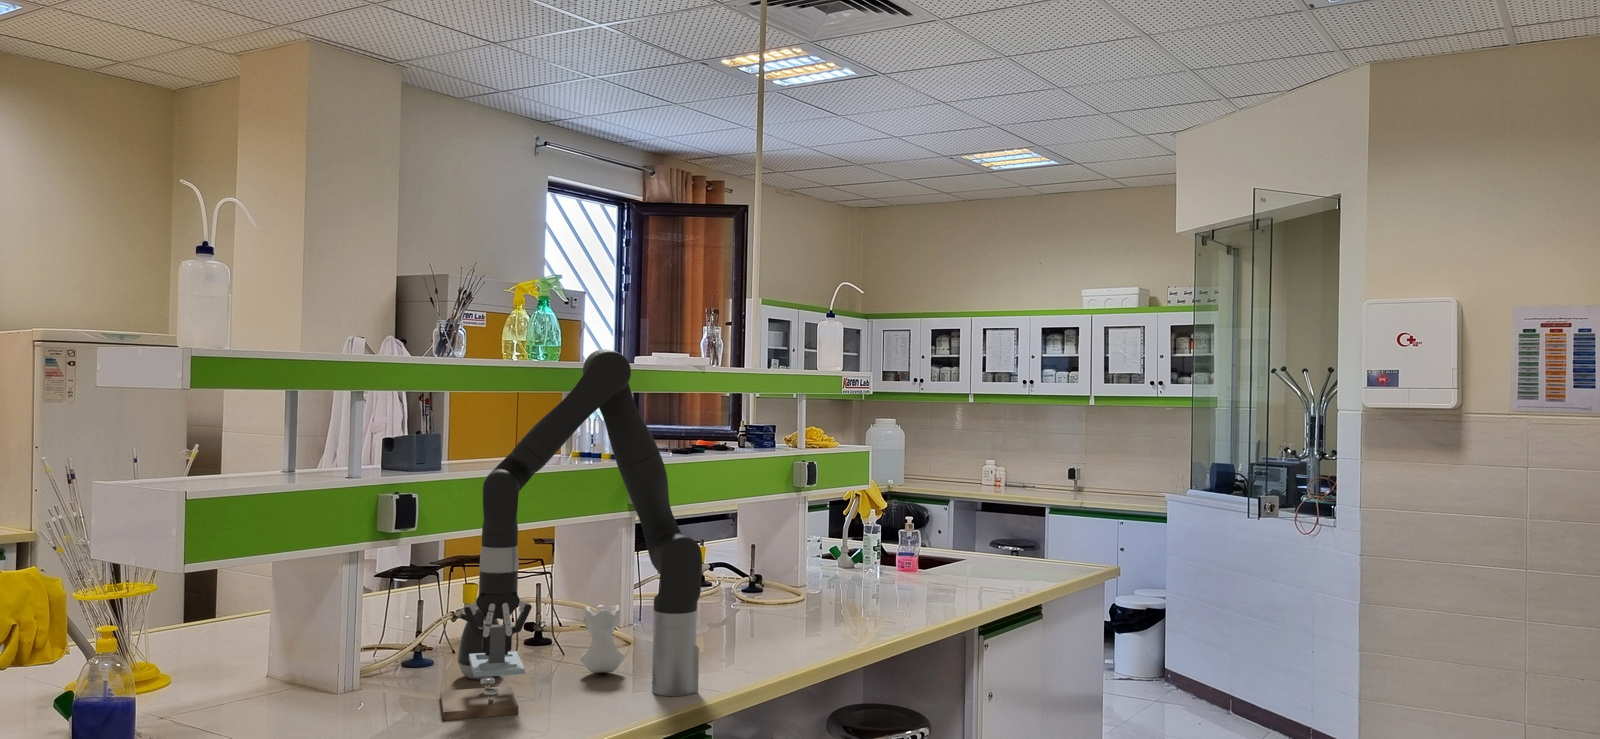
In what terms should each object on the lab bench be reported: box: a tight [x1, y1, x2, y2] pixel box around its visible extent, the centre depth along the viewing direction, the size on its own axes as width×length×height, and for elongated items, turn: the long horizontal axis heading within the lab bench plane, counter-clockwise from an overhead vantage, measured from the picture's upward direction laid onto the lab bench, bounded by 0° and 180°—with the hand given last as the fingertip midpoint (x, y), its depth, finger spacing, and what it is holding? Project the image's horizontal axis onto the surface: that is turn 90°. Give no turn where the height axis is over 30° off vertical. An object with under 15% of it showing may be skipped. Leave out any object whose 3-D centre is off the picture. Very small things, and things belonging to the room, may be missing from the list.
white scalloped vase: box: [580, 604, 625, 674], centre depth 251 cm, size 10×11×15 cm
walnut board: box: [439, 677, 520, 721], centre depth 223 cm, size 14×16×4 cm
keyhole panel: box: [469, 623, 526, 677], centre depth 224 cm, size 10×16×8 cm, turn 20°
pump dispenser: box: [456, 607, 502, 680], centre depth 246 cm, size 10×10×15 cm
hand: (496, 653), depth 224 cm, fingers closed on keyhole panel, 3 cm apart
